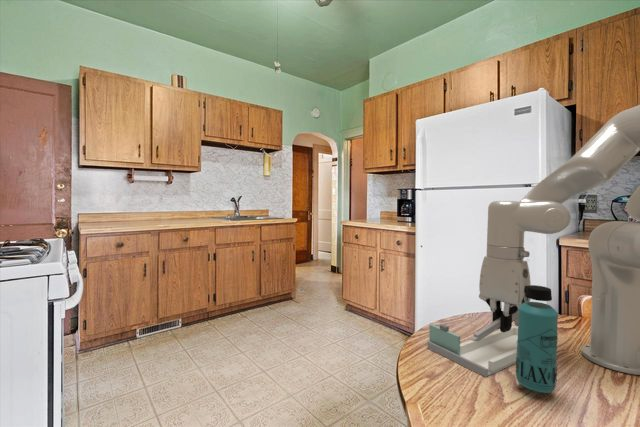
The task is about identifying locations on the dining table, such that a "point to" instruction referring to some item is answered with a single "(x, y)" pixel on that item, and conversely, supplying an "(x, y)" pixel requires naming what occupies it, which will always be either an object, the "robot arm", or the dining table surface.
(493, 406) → the dining table surface
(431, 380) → the dining table surface
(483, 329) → the caliper
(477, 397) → the dining table surface
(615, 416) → the dining table surface
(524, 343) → the beverage bottle
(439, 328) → the gate
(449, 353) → the housing
